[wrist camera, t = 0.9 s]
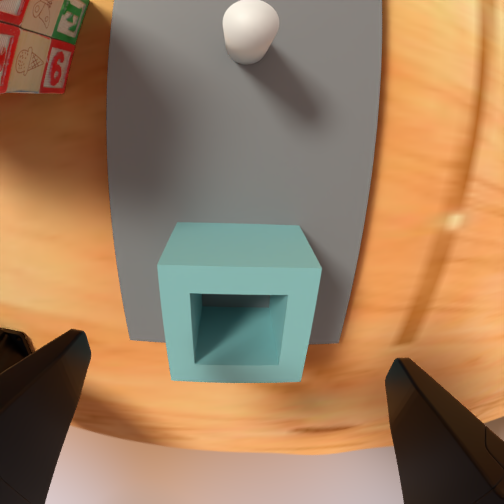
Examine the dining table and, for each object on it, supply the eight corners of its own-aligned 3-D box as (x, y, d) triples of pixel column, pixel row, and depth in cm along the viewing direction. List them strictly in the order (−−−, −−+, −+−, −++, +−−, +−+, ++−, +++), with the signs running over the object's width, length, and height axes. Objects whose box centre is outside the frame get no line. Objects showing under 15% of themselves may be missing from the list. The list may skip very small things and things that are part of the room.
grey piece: (333, 329, 22) (357, 390, 17) (135, 326, 21) (112, 388, 16) (370, -26, 13) (417, -63, 7) (129, -38, 12) (93, -83, 6)
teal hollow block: (287, 324, 20) (300, 381, 15) (182, 322, 20) (171, 380, 15) (299, 225, 17) (321, 268, 13) (177, 222, 17) (157, 264, 12)
